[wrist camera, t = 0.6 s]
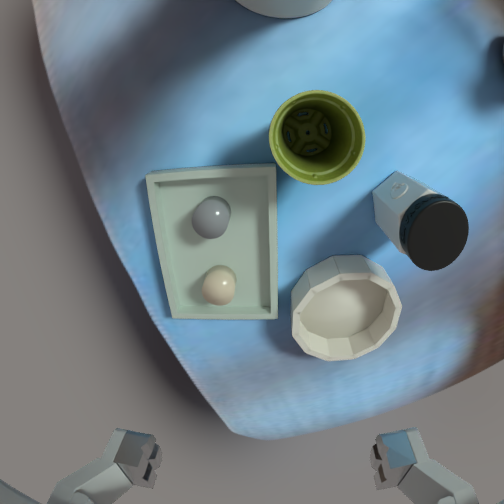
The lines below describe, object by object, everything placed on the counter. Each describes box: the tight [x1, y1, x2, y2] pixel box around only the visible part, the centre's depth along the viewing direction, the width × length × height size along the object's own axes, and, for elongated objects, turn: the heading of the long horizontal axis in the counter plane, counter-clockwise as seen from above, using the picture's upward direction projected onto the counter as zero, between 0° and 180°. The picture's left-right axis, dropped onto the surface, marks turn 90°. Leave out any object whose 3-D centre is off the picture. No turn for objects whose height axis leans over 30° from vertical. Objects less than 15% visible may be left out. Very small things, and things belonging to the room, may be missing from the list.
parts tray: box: [145, 163, 278, 319], centre depth 41 cm, size 22×16×2 cm
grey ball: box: [192, 196, 231, 239], centre depth 38 cm, size 4×4×4 cm
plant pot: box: [269, 90, 365, 185], centre depth 31 cm, size 9×9×9 cm
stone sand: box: [202, 265, 237, 306], centre depth 42 cm, size 4×4×4 cm
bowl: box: [290, 255, 402, 361], centre depth 43 cm, size 16×16×5 cm
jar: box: [372, 171, 469, 271], centre depth 33 cm, size 9×8×12 cm
